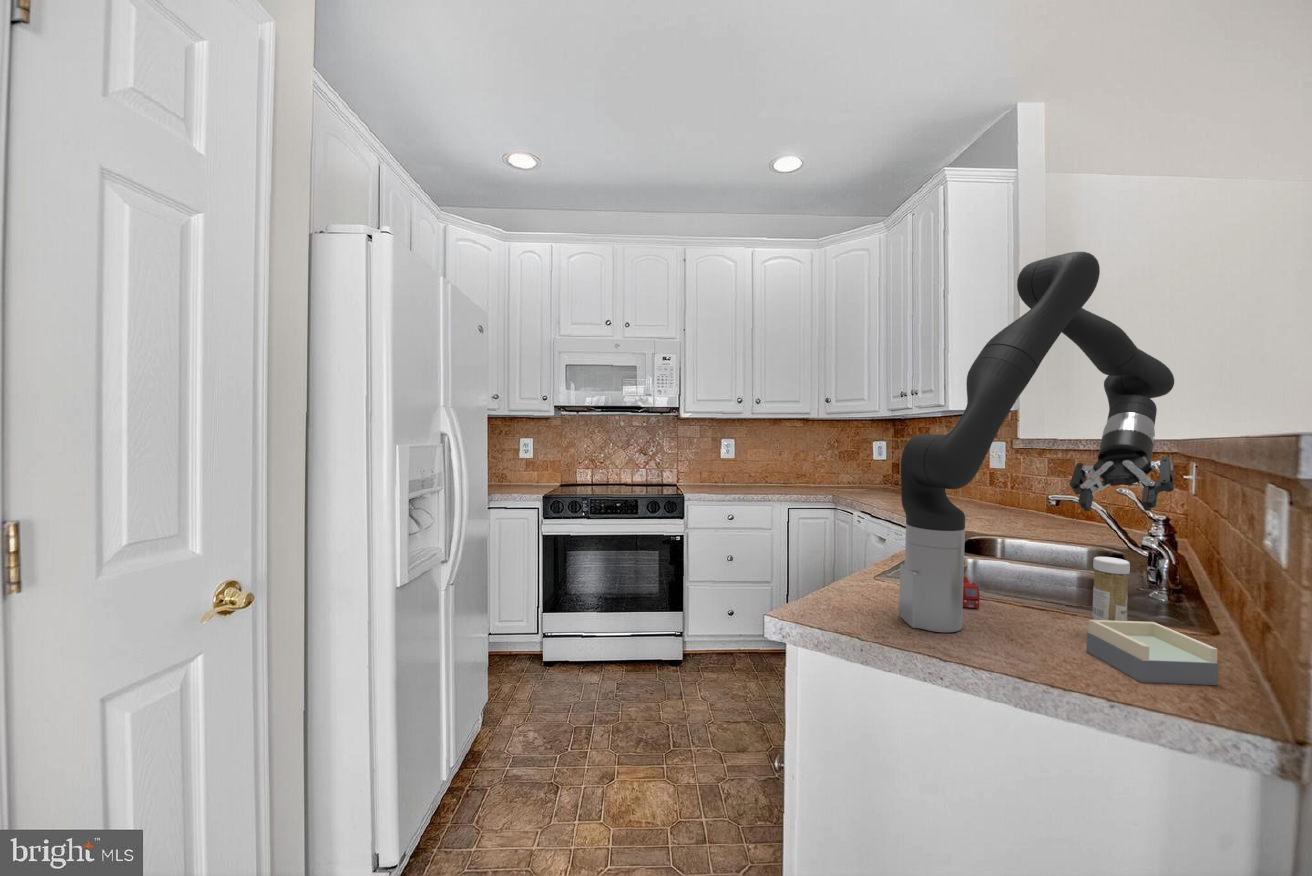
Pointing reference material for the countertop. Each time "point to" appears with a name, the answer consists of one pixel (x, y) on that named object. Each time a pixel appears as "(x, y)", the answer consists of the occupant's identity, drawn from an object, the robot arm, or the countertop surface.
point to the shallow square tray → (1152, 652)
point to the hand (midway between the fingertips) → (1114, 508)
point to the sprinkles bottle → (1110, 588)
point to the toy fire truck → (970, 592)
